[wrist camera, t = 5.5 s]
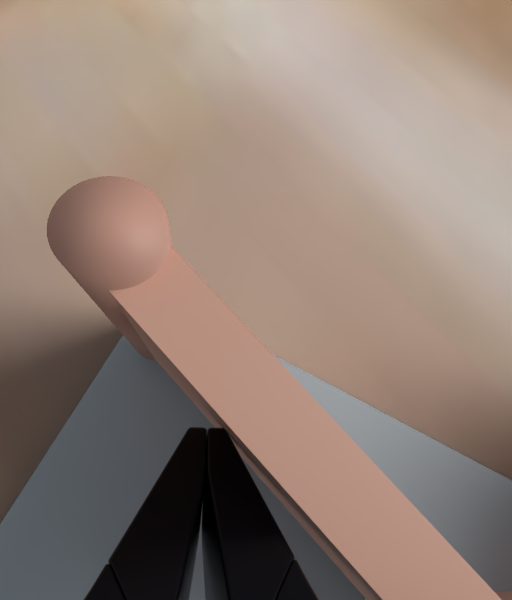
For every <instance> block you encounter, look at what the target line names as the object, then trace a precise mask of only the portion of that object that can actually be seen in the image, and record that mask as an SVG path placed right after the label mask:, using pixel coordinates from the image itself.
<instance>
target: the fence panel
mask: <svg viewBox="0 0 512 600" xmlns="http://www.w3.org/2000/svg"><path fill="white" fill-rule="evenodd" d="M47 237H48V242H49V245H50V248H51V250H52V251H53V253H54V255H55V256H56V258H57V259H58V260H59V261H60V263H61V264H62V265H63V266H64V267H65V268H66V269H67V271H68V272H69V273H70V274H71V275H72V276H73V278H74V279H75V280H76V281H77V282H78V283H79V285H80V286H81V287H82V288H83V289H84V290H85V291H86V293H87V294H88V295H89V296H90V297H91V298H92V300H93V301H94V302H95V303H96V304H97V305H98V306H99V308H100V309H101V310H102V311H103V312H104V313H105V315H106V316H107V317H108V318H109V319H110V320H111V322H112V323H113V324H114V325H115V326H116V327H117V328H118V330H119V331H120V332H121V333H122V334H123V335H124V337H125V338H126V339H127V340H128V341H129V342H130V343H131V345H132V346H133V347H134V348H135V349H136V350H137V352H138V353H139V354H140V355H142V356H143V357H145V358H147V359H150V360H155V361H157V362H158V363H159V364H160V366H161V367H162V368H163V369H164V370H165V371H166V372H167V374H168V375H169V376H170V377H171V378H172V379H173V380H174V381H175V383H176V384H177V385H178V386H179V387H180V388H181V389H182V391H183V392H184V393H185V394H186V395H187V396H188V397H189V399H190V400H191V401H192V402H193V403H194V404H195V405H196V407H197V408H198V409H199V410H200V411H201V412H202V413H203V414H204V416H205V417H206V418H207V419H208V420H209V421H210V422H211V424H212V425H213V426H214V427H215V428H224V429H225V430H226V431H227V432H228V434H229V436H230V438H231V440H232V441H233V443H234V445H235V447H236V449H237V451H238V452H239V454H240V456H241V458H242V459H243V460H244V461H245V462H246V463H247V464H248V466H249V467H250V468H251V469H252V470H253V471H254V472H255V474H256V475H257V476H258V477H259V478H260V479H261V480H262V482H263V483H264V484H265V485H266V486H267V487H268V488H269V489H270V491H271V492H272V493H273V494H274V495H275V496H276V497H277V499H278V500H279V501H280V502H281V503H282V504H283V505H284V507H285V508H286V509H287V510H288V511H289V512H290V513H291V514H292V516H293V517H294V518H295V519H296V520H297V521H298V522H299V524H300V525H301V526H302V527H303V528H304V529H305V530H306V532H307V533H308V534H309V535H310V536H311V537H312V538H313V540H314V541H315V542H316V543H317V544H318V545H319V546H320V547H321V549H322V550H323V551H324V552H325V553H326V554H327V555H328V557H329V558H330V559H331V560H332V561H333V562H334V563H335V565H336V566H337V567H338V568H339V569H340V570H341V571H342V572H343V574H344V575H345V576H346V577H347V578H348V579H349V580H350V582H351V583H352V584H353V585H354V586H355V587H356V588H357V590H358V591H359V592H360V593H361V594H362V595H363V596H364V597H365V599H366V600H502V599H501V598H500V597H499V596H498V595H497V594H496V593H495V592H494V591H493V590H492V589H491V588H490V587H489V586H488V584H487V583H486V582H485V581H484V580H483V579H482V578H481V577H480V576H479V575H478V574H477V573H476V572H475V571H474V569H473V568H472V567H471V566H470V565H469V564H468V563H467V562H466V561H465V560H464V559H463V558H462V557H461V556H460V554H459V553H458V552H457V551H456V550H455V549H454V548H453V547H452V546H451V545H450V544H449V543H448V542H447V540H446V539H445V538H444V537H443V536H442V535H441V534H440V533H439V532H438V531H437V530H436V529H435V528H434V527H433V525H432V524H431V523H430V522H429V521H428V520H427V519H426V518H425V517H424V516H423V515H422V514H421V513H420V512H419V510H418V509H417V508H416V507H415V506H414V505H413V504H412V503H411V502H410V501H409V500H408V499H407V498H406V497H405V495H404V494H403V493H402V492H401V491H400V490H399V489H398V488H397V487H396V486H395V485H394V484H393V483H392V481H391V480H390V479H389V478H388V477H387V476H386V475H385V474H384V473H383V472H382V471H381V470H380V469H379V468H378V466H377V465H376V464H375V463H374V462H373V461H372V460H371V459H370V458H369V457H368V456H367V455H366V454H365V453H364V451H363V450H362V449H361V448H360V447H359V446H358V445H357V444H356V443H355V442H354V441H353V440H352V439H351V438H350V436H349V435H348V434H347V433H346V432H345V431H344V430H343V429H342V428H341V427H340V426H339V425H338V424H337V423H336V421H335V420H334V419H333V418H332V417H331V416H330V415H329V414H328V413H327V412H326V411H325V410H324V409H323V407H322V406H321V405H320V404H319V403H318V402H317V401H316V400H315V399H314V398H313V397H312V396H311V395H310V394H309V392H308V391H307V390H306V389H305V388H304V387H303V386H302V385H301V384H300V383H299V382H298V381H297V380H296V379H295V377H294V376H293V375H292V374H291V373H290V372H289V371H288V370H287V369H286V368H285V367H284V366H283V365H282V364H281V362H280V361H279V360H278V359H277V358H276V357H275V356H274V355H273V354H272V353H271V352H270V351H269V350H268V349H267V347H266V346H265V345H264V344H263V343H262V342H261V341H260V340H259V339H258V338H257V337H256V336H255V335H254V333H253V332H252V331H251V330H250V329H249V328H248V327H247V326H246V325H245V324H244V323H243V322H242V321H241V320H240V318H239V317H238V316H237V315H236V314H235V313H234V312H233V311H232V310H231V309H230V308H229V307H228V306H227V305H226V303H225V302H224V301H223V300H222V299H221V298H220V297H219V296H218V295H217V294H216V293H215V292H214V291H213V290H212V288H211V287H210V286H209V285H208V284H207V283H206V282H205V281H204V280H203V279H202V278H201V277H200V276H199V275H198V273H197V272H196V271H195V270H194V269H193V268H192V267H191V266H190V265H189V264H188V263H187V262H186V261H185V259H184V258H183V257H182V256H181V255H180V254H179V253H178V252H177V251H176V250H175V249H174V248H173V247H172V243H171V236H170V228H169V221H168V216H167V212H166V210H165V208H164V206H163V204H162V202H161V201H160V199H159V198H158V197H157V196H156V195H155V194H154V193H153V192H152V191H151V190H150V189H148V188H147V187H146V186H144V185H142V184H140V183H138V182H136V181H133V180H130V179H127V178H122V177H113V176H106V177H97V178H93V179H89V180H86V181H83V182H81V183H79V184H77V185H75V186H73V187H72V188H70V189H69V190H67V191H66V192H65V193H64V194H63V195H62V196H61V197H60V198H59V199H58V200H57V202H56V203H55V205H54V206H53V208H52V210H51V212H50V215H49V218H48V223H47Z"/></svg>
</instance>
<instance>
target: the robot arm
mask: <svg viewBox="0 0 512 600" xmlns="http://www.w3.org/2000/svg"><path fill="white" fill-rule="evenodd" d="M201 514H202V525H201ZM200 525H201V534H202V554H203V570H204V586H205V600H319V599H318V597H317V596H316V594H315V592H314V590H313V589H312V587H311V585H310V583H309V582H308V580H307V578H306V576H305V575H304V573H303V571H302V569H301V567H300V565H299V563H298V562H297V560H294V554H293V553H292V551H291V549H290V547H289V545H288V543H287V541H286V540H285V538H284V536H283V534H282V532H281V530H280V529H279V527H278V525H277V523H276V521H275V519H274V517H273V516H272V514H271V512H270V510H269V508H268V506H267V504H266V503H265V501H264V499H263V497H262V495H261V493H260V491H259V490H258V488H257V486H256V484H255V482H254V480H253V478H252V477H251V475H250V473H249V471H248V469H247V467H246V465H245V464H244V462H243V460H242V458H241V456H240V454H239V452H238V451H237V449H236V447H235V445H234V443H233V441H232V440H231V438H230V436H229V434H228V432H227V431H226V430H225V429H224V428H209V429H208V430H206V428H204V427H190V428H189V429H188V430H187V431H186V433H185V434H184V436H183V438H182V439H181V441H180V443H179V444H178V446H177V448H176V449H175V451H174V453H173V454H172V456H171V458H170V459H169V461H168V462H167V464H166V466H165V467H164V469H163V471H162V472H161V474H160V476H159V477H158V479H157V481H156V482H155V484H154V486H153V487H152V489H151V491H150V492H149V494H148V496H147V497H146V499H145V500H144V502H143V504H142V505H141V507H140V509H139V510H138V512H137V514H136V515H135V517H134V519H133V520H132V522H131V524H130V525H129V527H128V529H127V530H126V532H125V534H124V535H123V537H122V538H121V540H120V542H119V543H118V545H117V547H116V548H115V550H114V552H113V553H112V555H111V557H110V558H109V560H108V564H106V565H105V566H104V568H103V569H102V571H101V573H100V574H99V576H98V578H97V579H96V581H95V583H94V584H93V586H92V587H91V589H90V591H89V592H88V594H87V595H86V597H85V598H84V600H189V596H190V590H191V583H192V577H193V571H194V565H195V559H196V553H197V547H198V541H199V534H200Z"/></svg>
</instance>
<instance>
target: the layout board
mask: <svg viewBox="0 0 512 600" xmlns="http://www.w3.org/2000/svg"><path fill="white" fill-rule="evenodd" d="M275 357H276V356H275ZM276 358H277V359H278V360H279V361H280V362H281V364H282V365H283V366H284V367H285V368H286V369H287V370H288V371H289V372H290V373H291V374H292V375H293V376H294V377H295V379H296V380H297V381H298V382H299V383H300V384H301V385H302V386H303V387H304V388H305V389H306V390H307V391H308V392H309V394H310V395H311V396H312V397H313V398H314V399H315V400H316V401H317V402H318V403H319V404H320V405H321V406H322V407H323V409H324V410H325V411H326V412H327V413H328V414H329V415H330V416H331V417H332V418H333V419H334V420H335V421H336V423H337V424H338V425H339V426H340V427H341V428H342V429H343V430H344V431H345V432H346V433H347V434H348V435H349V436H350V438H351V439H352V440H353V441H354V442H355V443H356V444H357V445H358V446H359V447H360V448H361V449H362V450H363V451H364V453H365V454H366V455H367V456H368V457H369V458H370V459H371V460H372V461H373V462H374V463H375V464H376V465H377V466H378V468H379V469H380V470H381V471H382V472H383V473H384V474H385V475H386V476H387V477H388V478H389V479H390V480H391V481H392V483H393V484H394V485H395V486H396V487H397V488H398V489H399V490H400V491H401V492H402V493H403V494H404V495H405V497H406V498H407V499H408V500H409V501H410V502H411V503H412V504H413V505H414V506H415V507H416V508H417V509H418V510H419V512H420V513H421V514H422V515H423V516H424V517H425V518H426V519H427V520H428V521H429V522H430V523H431V524H432V525H433V527H434V528H435V529H436V530H437V531H438V532H439V533H440V534H441V535H442V536H443V537H444V538H445V539H446V540H447V542H448V543H449V544H450V545H451V546H452V547H453V548H454V549H455V550H456V551H457V552H458V553H459V554H460V556H461V557H462V558H463V559H464V560H465V561H466V562H467V563H468V564H469V565H470V566H471V567H472V568H473V569H474V571H475V572H476V573H477V574H478V575H479V576H480V577H481V578H482V579H483V580H484V581H485V582H486V583H487V584H488V586H489V587H490V588H491V589H492V590H493V591H494V592H502V591H512V480H510V479H508V478H506V477H504V476H502V475H501V474H499V473H497V472H495V471H493V470H491V469H489V468H487V467H485V466H483V465H482V464H480V463H478V462H476V461H474V460H472V459H470V458H468V457H466V456H464V455H463V454H461V453H459V452H457V451H455V450H453V449H451V448H449V447H447V446H445V445H444V444H442V443H440V442H438V441H436V440H434V439H432V438H430V437H428V436H426V435H425V434H423V433H421V432H419V431H417V430H415V429H413V428H411V427H409V426H407V425H406V424H404V423H402V422H400V421H398V420H396V419H394V418H392V417H390V416H388V415H387V414H385V413H383V412H381V411H379V410H377V409H375V408H373V407H371V406H369V405H368V404H366V403H364V402H362V401H360V400H358V399H356V398H354V397H352V396H350V395H349V394H347V393H345V392H343V391H341V390H339V389H337V388H335V387H333V386H331V385H330V384H328V383H326V382H324V381H322V380H320V379H318V378H316V377H314V376H312V375H311V374H309V373H307V372H305V371H303V370H301V369H299V368H297V367H295V366H293V365H292V364H290V363H288V362H286V361H284V360H282V359H280V358H278V357H276ZM190 427H204V428H206V430H208V429H209V428H215V427H214V426H213V425H212V424H211V422H210V421H209V420H208V419H207V418H206V417H205V416H204V414H203V413H202V412H201V411H200V410H199V409H198V408H197V407H196V405H195V404H194V403H193V402H192V401H191V400H190V399H189V397H188V396H187V395H186V394H185V393H184V392H183V391H182V389H181V388H180V387H179V386H178V385H177V384H176V383H175V381H174V380H173V379H172V378H171V377H170V376H169V375H168V374H167V372H166V371H165V370H164V369H163V368H162V367H161V366H160V364H159V363H158V362H157V361H155V360H150V359H147V358H145V357H143V356H142V355H140V354H139V353H138V352H137V350H136V349H135V348H134V347H133V346H132V345H131V343H130V342H129V341H128V340H127V339H126V338H125V337H124V335H122V337H121V338H120V340H119V341H118V343H117V345H116V346H115V348H114V349H113V351H112V352H111V354H110V355H109V357H108V358H107V360H106V362H105V363H104V365H103V366H102V368H101V369H100V371H99V372H98V374H97V375H96V377H95V379H94V380H93V382H92V383H91V385H90V386H89V388H88V389H87V391H86V392H85V394H84V396H83V397H82V399H81V400H80V402H79V403H78V405H77V406H76V408H75V409H74V411H73V412H72V414H71V416H70V417H69V419H68V420H67V422H66V423H65V425H64V426H63V428H62V429H61V431H60V433H59V434H58V436H57V437H56V439H55V440H54V442H53V443H52V445H51V446H50V448H49V450H48V451H47V453H46V454H45V456H44V457H43V459H42V460H41V462H40V463H39V465H38V467H37V468H36V470H35V471H34V473H33V474H32V476H31V477H30V479H29V480H28V482H27V484H26V485H25V487H24V488H23V490H22V491H21V493H20V494H19V496H18V497H17V499H16V501H15V502H14V504H13V505H12V507H11V508H10V510H9V511H8V513H7V514H6V516H5V518H4V519H3V521H2V522H1V524H0V600H84V598H85V597H86V595H87V594H88V592H89V591H90V589H91V587H92V586H93V584H94V583H95V581H96V579H97V578H98V576H99V574H100V573H101V571H102V569H103V568H104V566H105V565H106V564H108V560H109V558H110V557H111V555H112V553H113V552H114V550H115V548H116V547H117V545H118V543H119V542H120V540H121V538H122V537H123V535H124V534H125V532H126V530H127V529H128V527H129V525H130V524H131V522H132V520H133V519H134V517H135V515H136V514H137V512H138V510H139V509H140V507H141V505H142V504H143V502H144V500H145V499H146V497H147V496H148V494H149V492H150V491H151V489H152V487H153V486H154V484H155V482H156V481H157V479H158V477H159V476H160V474H161V472H162V471H163V469H164V467H165V466H166V464H167V462H168V461H169V459H170V458H171V456H172V454H173V453H174V451H175V449H176V448H177V446H178V444H179V443H180V441H181V439H182V438H183V436H184V434H185V433H186V431H187V430H188V429H189V428H190ZM242 460H243V459H242ZM243 462H244V464H245V465H246V467H247V469H248V471H249V473H250V475H251V477H252V478H253V480H254V482H255V484H256V486H257V488H258V490H259V491H260V493H261V495H262V497H263V499H264V501H265V503H266V504H267V506H268V508H269V510H270V512H271V514H272V516H273V517H274V519H275V521H276V523H277V525H278V527H279V529H280V530H281V532H282V534H283V536H284V538H285V540H286V541H287V543H288V545H289V547H290V549H291V551H292V553H293V554H294V560H297V562H298V563H299V565H300V567H301V569H302V571H303V573H304V575H305V576H306V578H307V580H308V582H309V583H310V585H311V587H312V589H313V590H314V592H315V594H316V596H317V597H318V599H319V600H366V599H365V597H364V596H363V595H362V594H361V593H360V592H359V591H358V590H357V588H356V587H355V586H354V585H353V584H352V583H351V582H350V580H349V579H348V578H347V577H346V576H345V575H344V574H343V572H342V571H341V570H340V569H339V568H338V567H337V566H336V565H335V563H334V562H333V561H332V560H331V559H330V558H329V557H328V555H327V554H326V553H325V552H324V551H323V550H322V549H321V547H320V546H319V545H318V544H317V543H316V542H315V541H314V540H313V538H312V537H311V536H310V535H309V534H308V533H307V532H306V530H305V529H304V528H303V527H302V526H301V525H300V524H299V522H298V521H297V520H296V519H295V518H294V517H293V516H292V514H291V513H290V512H289V511H288V510H287V509H286V508H285V507H284V505H283V504H282V503H281V502H280V501H279V500H278V499H277V497H276V496H275V495H274V494H273V493H272V492H271V491H270V489H269V488H268V487H267V486H266V485H265V484H264V483H263V482H262V480H261V479H260V478H259V477H258V476H257V475H256V474H255V472H254V471H253V470H252V469H251V468H250V467H249V466H248V464H247V463H246V462H245V461H244V460H243ZM201 525H202V514H201ZM201 525H200V534H199V541H198V547H197V553H196V559H195V565H194V571H193V577H192V583H191V590H190V596H189V600H205V586H204V570H203V554H202V534H201Z"/></svg>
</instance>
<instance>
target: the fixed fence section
mask: <svg viewBox="0 0 512 600" xmlns="http://www.w3.org/2000/svg"><path fill="white" fill-rule="evenodd" d="M495 593H496V594H497V595H498V596H499V597H500V598H501V599H502V600H512V591H502V592H495Z"/></svg>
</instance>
